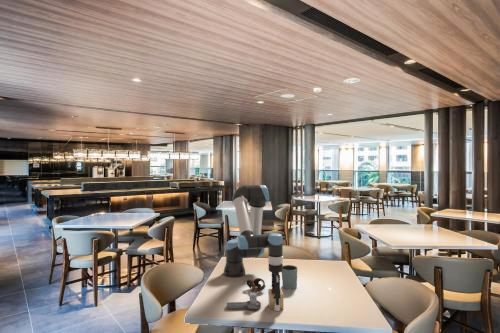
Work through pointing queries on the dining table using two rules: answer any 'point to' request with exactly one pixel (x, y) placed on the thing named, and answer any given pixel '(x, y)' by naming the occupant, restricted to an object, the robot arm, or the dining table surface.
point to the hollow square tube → (271, 300)
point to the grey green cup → (289, 277)
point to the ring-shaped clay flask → (256, 284)
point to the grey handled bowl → (245, 304)
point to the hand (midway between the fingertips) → (275, 306)
